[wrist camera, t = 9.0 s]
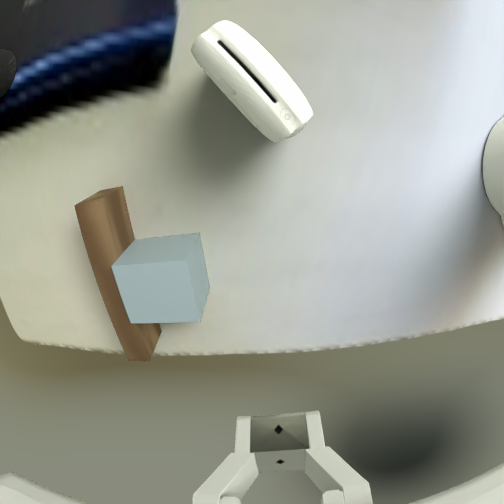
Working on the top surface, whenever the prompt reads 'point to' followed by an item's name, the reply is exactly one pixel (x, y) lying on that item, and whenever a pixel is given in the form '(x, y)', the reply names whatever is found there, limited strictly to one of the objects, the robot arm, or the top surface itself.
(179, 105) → the top surface
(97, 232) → the stop board
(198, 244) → the slate block
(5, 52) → the travel mug
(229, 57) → the photo printer
